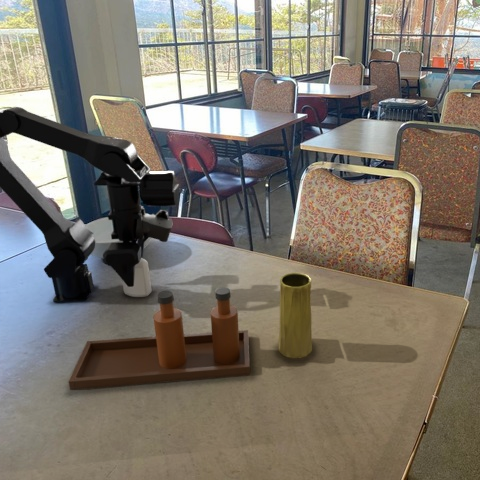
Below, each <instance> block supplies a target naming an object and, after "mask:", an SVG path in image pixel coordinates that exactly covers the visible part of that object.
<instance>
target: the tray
mask: <svg viewBox="0 0 480 480" xmlns="http://www.w3.org/2000/svg"><path fill="white" fill-rule="evenodd" d="M184 341H185V350H186V361H185V363H184V364H183V365H181V366H179V367H177V368H172V369H168V368H164V367H162V366H161V365H160V364H159V357H158V349H157V341H156V335H155V336H143V337H129V338H128V337H127V338H114V339H100V340H87V341H86V343H85V345H84V347H83V350H82V352H81V354H80V356H79V358H78V360H77V362H76V364H75V367H74V368H73V371H72V373H71V374H70V377H69V379H68V386H69V390H70V391H71V390H82V389H84V390H85V389H94V388H95V389H96V388H105V387H106V388H107V387H119V386H129V385H141V384H155V383H166V382H178V381H190V380H202V379H211V378H212V379H213V378H225V377H236V376H237V377H238V376H247V375H251V366H250V365H251V364H250V363H251V361H250V344H249V343H250V342H249V330H248V329H245V330H244V329H240V330H239V349H240V357H239V358H238V360H237V361H235V362H233V363H230V364H220V363H218V362H216V361H215V360H214V353H213V339H212V332H199V333H184Z"/></svg>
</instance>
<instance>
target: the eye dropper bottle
mask: <svg viewBox="0 0 480 480" xmlns="http://www.w3.org/2000/svg"><path fill="white" fill-rule="evenodd" d="M121 283H122V289H123V293H124V295H126V296H129V297H132V298H146V297H148V296H149V295H150V294H151V293H152V291H153V290H152V283H151V275H150V269H149V263H148V261H147V260H146V259H145V258H144V257H143V258H141V260H140V262H139V263H138V264H136V265H135V276H134V286H133V287H128V286H127V285H126V284H125V282H124V281H123V280H122V279H121Z"/></svg>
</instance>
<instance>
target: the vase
mask: <svg viewBox="0 0 480 480" xmlns="http://www.w3.org/2000/svg"><path fill="white" fill-rule="evenodd" d="M279 284H280V285H279V286H280V291H279V331H278V351H279V353H280V354H281V355H282V356H284V357H287V358H290V359H301V358H304V357H307V356H308V355H309V354H311V352H312V351H313V343H312V336H313V335H312V302H311V301H312V300H311V297H312V296H311V290H312V278H311V276H309V275H307V274H305V273H302V272H290V273H286V274H284V275H282V276H281V278H280V279H279Z"/></svg>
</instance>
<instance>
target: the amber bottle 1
mask: <svg viewBox="0 0 480 480" xmlns="http://www.w3.org/2000/svg"><path fill="white" fill-rule="evenodd" d="M156 297H157V303H158V304H159V310H157V311H156V312H154V314H153V317H152V318H153V326H154V332H155V333H154V335H155V336H156V341H157V349H158V357H159V364H160V365H161V366H162V367H164V368H168V369H172V368H177V367H179V366H181V365H183V364H184V363H185V361H186V350H185V341H184V334H185V333H184V332H185V331H184V323H183V322H184V321H183V314H182V311H181V310H180V309H178V308H175V307H174V301H175V298H174V292H173V291H172V290H162V291H159V292H158V293H156Z"/></svg>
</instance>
